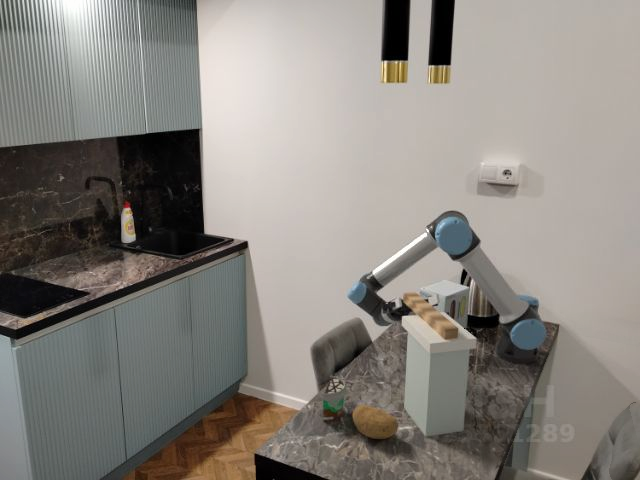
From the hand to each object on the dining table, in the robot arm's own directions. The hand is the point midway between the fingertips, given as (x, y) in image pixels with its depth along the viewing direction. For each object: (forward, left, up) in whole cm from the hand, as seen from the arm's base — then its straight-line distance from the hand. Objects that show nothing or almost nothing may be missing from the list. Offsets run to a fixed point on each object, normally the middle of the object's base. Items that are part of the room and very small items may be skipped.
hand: (419, 300), depth 185 cm
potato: (+17, +21, -34) cm, 43 cm away
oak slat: (-1, +7, -3) cm, 8 cm away
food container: (+27, +9, -34) cm, 44 cm away
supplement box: (-24, -53, -34) cm, 67 cm away
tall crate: (-2, +13, -33) cm, 36 cm away
